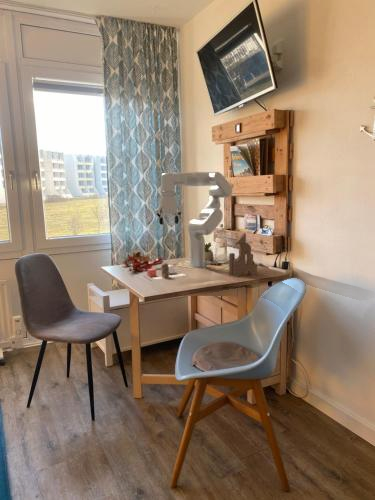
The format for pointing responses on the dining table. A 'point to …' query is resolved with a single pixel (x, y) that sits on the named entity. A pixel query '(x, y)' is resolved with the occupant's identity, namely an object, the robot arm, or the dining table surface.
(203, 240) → the robot arm
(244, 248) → the wooden toy
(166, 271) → the brown rounded capsule
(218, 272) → the dining table surface
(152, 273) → the board
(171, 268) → the dome
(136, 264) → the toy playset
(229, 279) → the dining table surface
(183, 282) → the dining table surface
